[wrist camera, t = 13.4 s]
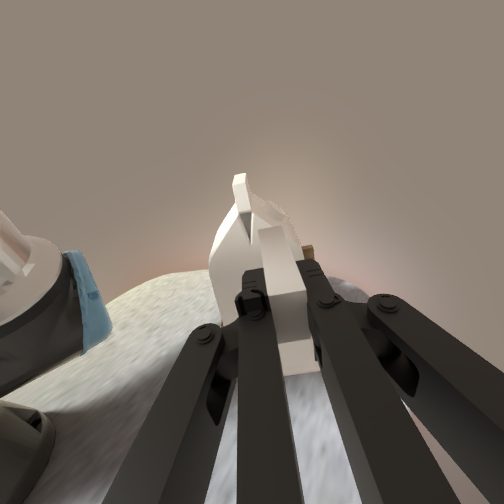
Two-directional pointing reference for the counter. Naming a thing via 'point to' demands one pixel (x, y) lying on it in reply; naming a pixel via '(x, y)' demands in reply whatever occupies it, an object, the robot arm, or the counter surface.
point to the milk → (253, 264)
